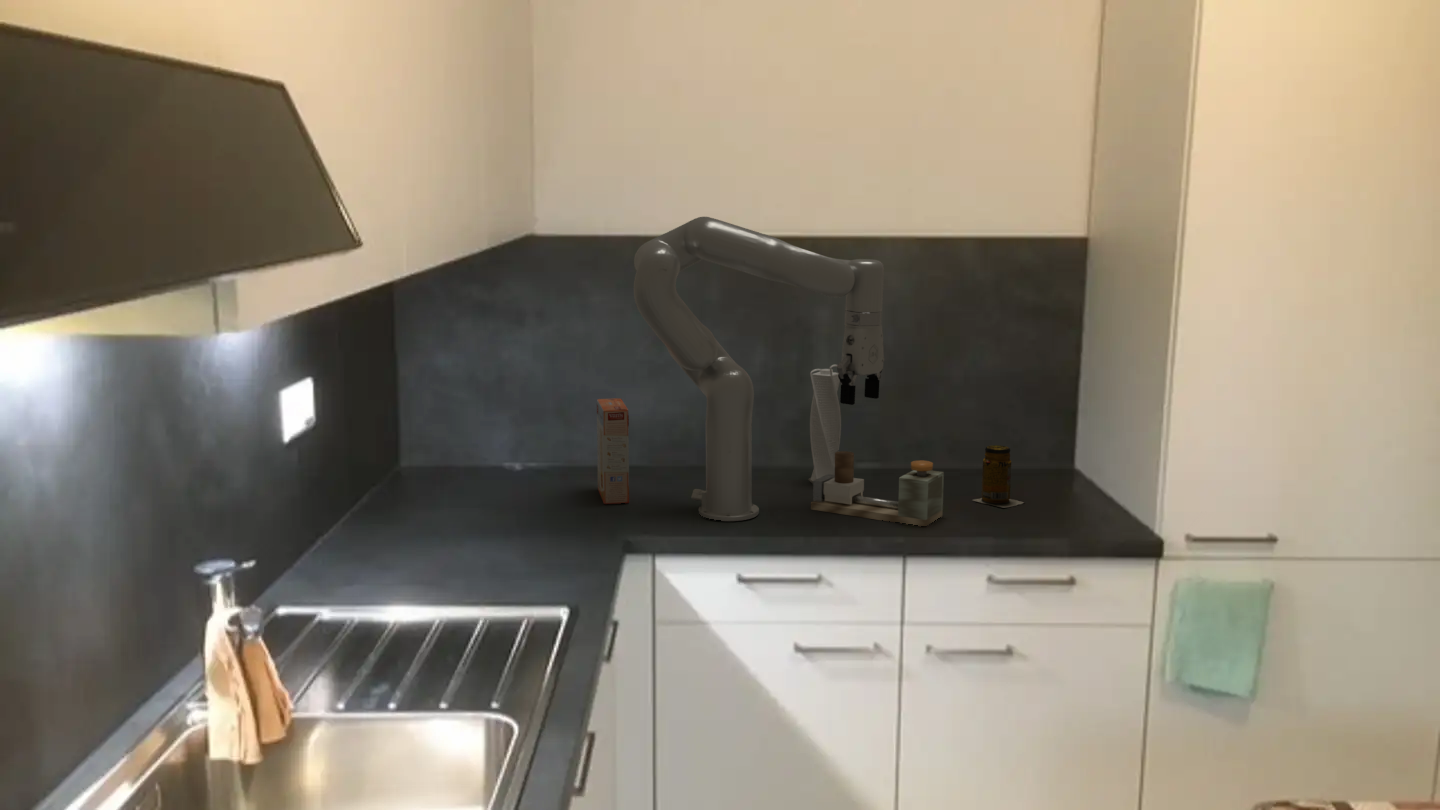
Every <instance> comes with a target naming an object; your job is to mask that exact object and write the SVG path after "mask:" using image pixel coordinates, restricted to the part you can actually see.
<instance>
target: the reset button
mask: <svg viewBox="0 0 1440 810" xmlns="http://www.w3.org/2000/svg"><path fill="white" fill-rule="evenodd" d="M933 468H934V462H932V461H929V460H923V459H922V460H920V459H919V460H913V461H910V469H911V471H913V470H915V471H917V476H920V477H927V471H931V470H932V471H934V470H933Z"/></svg>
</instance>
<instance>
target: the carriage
mask: <svg viewBox="0 0 1440 810" xmlns="http://www.w3.org/2000/svg"><path fill="white" fill-rule="evenodd" d="M854 466H855V453H854V452H852V451H845V450H841V451H838V452H836V453H835V478H833V479H831V480H829V481H826V482H824V494H825V501H830V502H837V503H844V504H852V496H854V495H856V496H863V497H864V495H863V494H864V493H863V492H864V490H865V479H864V478H859V477H858V478H856V477H854V472H855V471H854V470H855V468H854Z"/></svg>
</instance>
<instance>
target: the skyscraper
mask: <svg viewBox="0 0 1440 810" xmlns="http://www.w3.org/2000/svg"><path fill="white" fill-rule="evenodd" d="M837 365H838V364H832V365H830V366H829V368H815V369H812V370H811V371H810V373H809V375H810V380H811V381H810V382H811V386H812V391H813V395H812V398H811V399H812V401H811V406H810V414H809V415H810V416H809V435H810V437H809V438H810V439H809V440H810V448H811V457H812V462H813V470H812V473H811V476H810V477H809V478H808V480H807V481H809V482H810V483H811V484H813V481H814V480H816V479H818V478H820V477H823V476H825V475H827V474H833V475H835V453H836V452H839V450H840V443H841V434H842V414H841V405H840V401H839V400H840V399H839V396H838V391H839V387H840V379H839V378H838V372H836V371H835V372H834V371H833V370H834V369H832V368H834V367H836V368H837Z"/></svg>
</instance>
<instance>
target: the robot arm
mask: <svg viewBox="0 0 1440 810" xmlns="http://www.w3.org/2000/svg"><path fill="white" fill-rule="evenodd" d="M703 260H704V261H706V262H710V263H713V264H717V265H720V266H723V267H726V268H730V269H733V270H736V271H740V272H742V273H746V274H749V275H752V276H756V277H758V278H762V279H766V280H767V281H768V280H769V281H773V282H779V283H783V284H787V285H791V286H794V287H797V288H800V289H804V290H807V291H810V292H814V293H817V294H819V295H823V296H825V297H829V298H835V299H837V298H839V299H840V298H842V297H844V296H845V313H844V326H845V328H844V333H843V340H842V347H841V348H842V350H841V361H839V363H838V364H836V365H837V367H836V370H837V373H838V378H839V379H840V383H839V385H840V396H839V397H840V398H839V400H840V401H839V403H840V404H843V405H850V406H854V405H855V404H856V385H855V382H856V381H857V378H858V376H859V377H867V378H865V379H864V398H867V399H868V398H869V399H877V400H878V399H879V398H880V396H879V395H880V380H881V378H882V375H881V374H882V372H883V370H884V362H885V360H886V358H885V356H884V333H883V326H882V319H883V318H882V316H883V297H884V296H883V294H884V293H883V292H884V278H885V277H884V276H885V275H884V274H885V273H884V272H885V269H884V267H885V266H884V263H883V262H881V261H880V260H878V259H871V258H870V259H869V258H865V259H864V258H856V259H852V260H849V259H842V258H834V257H830V256H826V255H822V254H820V253H818V252H814V251H812V250H811V251H810V250H807V249H804V248H801V247H799V246H796V245H793V244H791V243H789V242H786V241H784V240H782V239H779V238H777V237H774V236H771V235H768V234H765V233H762V232H758V231H755V230H752V229H749V228H745V227H742V226H739V225H736V224H733V223H730V222H728V221H727V222H726V221H723V220H721V219H717V218H713V217H710V216H699V217H696V218H693V219H691V220H690V221H686V222H685V223H683V224H681V225H680V226H678V227H675V228H673V229H671V230H669V231H667V232H664V233H663V234H660V235H659V236H658V235H657V236H656V237H654V238H652V239H650V240H648V241H646V242H645V243H643V244H642V245H640V246H639V248H638V249H637V251H636V252H635V254H634V259H633V265H634V269H635V271H636V272H635V275H634V281H633V297H634V302H635V305H636V307H637V310H638V312H639V313H640V316H641V317H642V318H643V320H644V321H645V322H646V324H647V325H648V326H649V327H650V329H651V330H652V332H654V334H655V335H656V336H657V338H658V339H659V340H660V341H661V342H662V344H663V345H665V347H666V349H667V351H668V353H669V355H670V357H671V358H672V359H673V360H674V361H675V363H676V364H677V365H678V366H679V367H680V369H681V370H682V371H683V372H684V373H685V374H686V375H687V376H688V378H689V379H690V380H691V381H692V383H693V384H694V385H695V386H696V387H697V388H698V389H699V390H700V392H702V394H703V395H704V396H705V397H706V409H705V410H706V413H705V490H703V489H699V488H694V489H693V490H692V494H691V496H690V497H691V498H690V499H691V500H692V501H700V503H701V505H700V506H699V507H698V515H699V514H700V515H701V517H702V516H703V517H702V518H704V517H706V518H709V519H708V520H710V519H714V520H713V521H716V520H721V521H720V522H740V521H747V520H750V519H753V518H755V517H757V516H758V515H759V514H760V508H759V506H758V505H756V504H754V503H753V502H752V496H753V495H752V491H753V490H752V488H753V487H752V483H753V482H752V481H753V480H752V476H753V475H752V469H753V468H752V465H753V463H752V459H753V458H752V457H753V456H752V451H753V450H752V445H753V444H752V443H753V442H752V431H753V430H752V429H753V428H752V424H753V409H754V401H755V399H754V398H755V391H754V390H755V389H754V384H753V381H752V379H751V376H750V375H749V374H748V372H747V371H746V370H745V368H743V367H742V366H740V365H739V364H738V363H737V362H736V361H735V360H734V359H733V358H732V357H731V356H730V354H729V353H728V352H727V351H726V349H724V347H723V346H722V345H721V344H720V343H719V341H718V340H717V339H716V338H715V336H714V333H712V331H711V330H710V329H709V327H707V326H706V325H705V324H703V323H702V321H700V320H699V319H698V317H697V316H696V315H695V314H694V313H693V311H692V310H690V308H689V306H688V305H687V304H686V303H685V302H684V300H683V299H682V298H681V296H680V295H679V293H678V291H677V285H676V283H677V278H678V275H679V274H680V272H682V271H683V270H685V269H687V268H689V267H691V266H693V265H695V264H697V263H699V262H701V261H703ZM700 515H699V516H700ZM706 518H705V519H706Z"/></svg>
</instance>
